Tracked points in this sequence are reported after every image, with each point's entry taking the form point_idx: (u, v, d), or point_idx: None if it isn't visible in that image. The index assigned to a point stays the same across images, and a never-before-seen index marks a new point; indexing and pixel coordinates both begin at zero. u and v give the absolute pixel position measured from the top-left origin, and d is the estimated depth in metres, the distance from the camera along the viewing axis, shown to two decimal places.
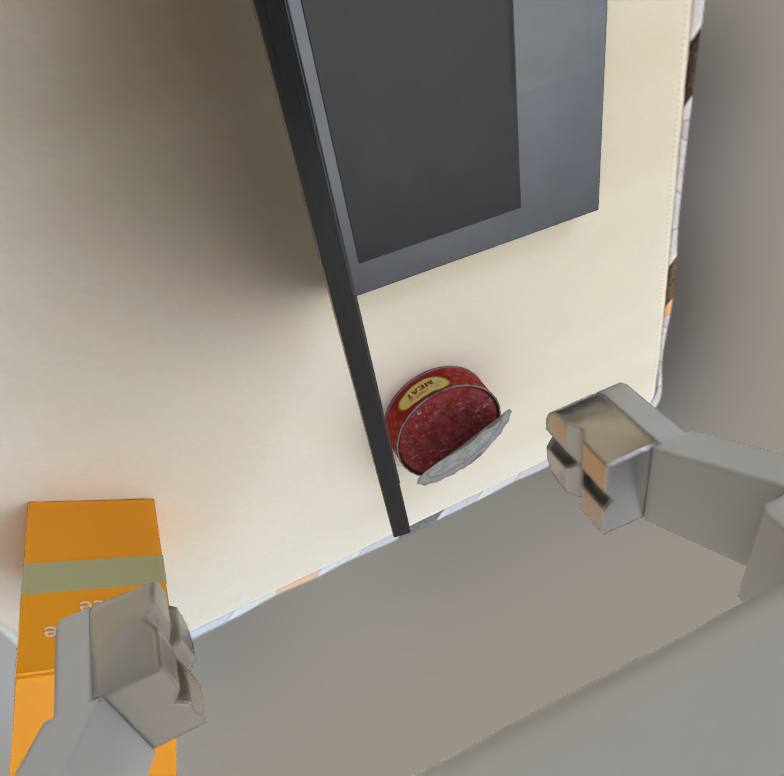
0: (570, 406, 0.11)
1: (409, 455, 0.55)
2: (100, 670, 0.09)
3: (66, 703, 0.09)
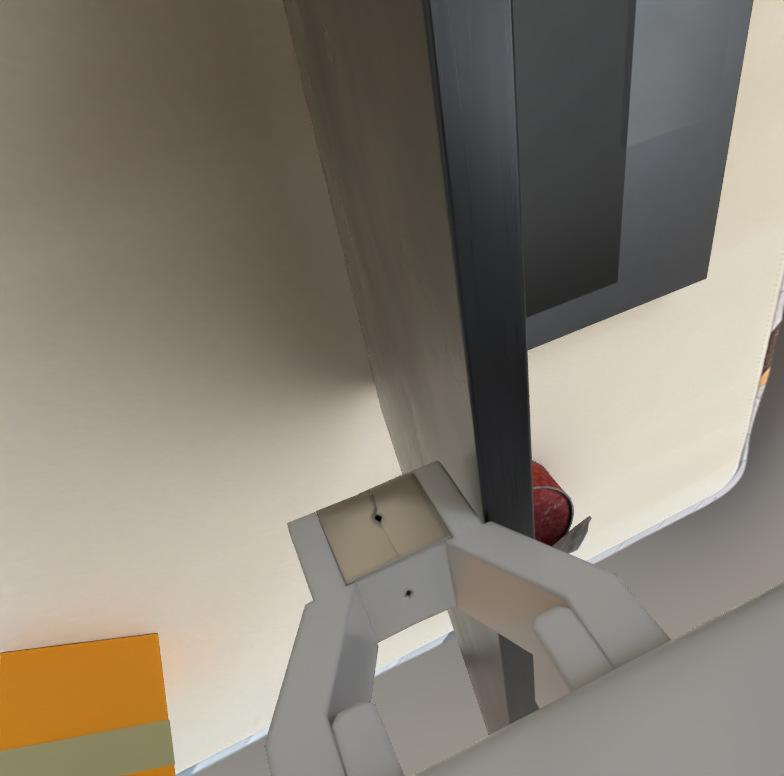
0: (379, 487, 0.11)
1: None
2: (346, 561, 0.10)
3: (322, 588, 0.09)
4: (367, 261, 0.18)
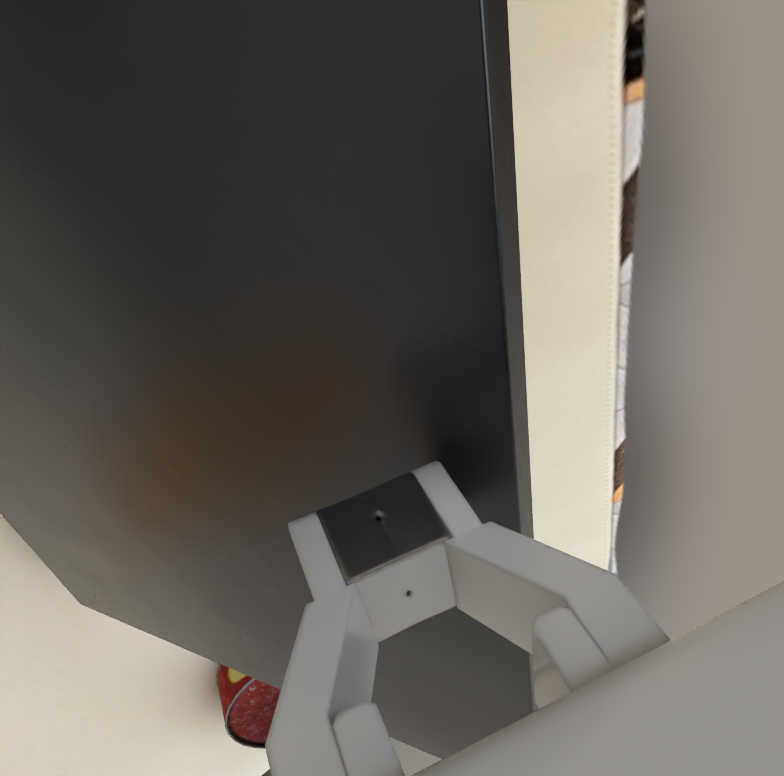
0: (378, 487, 0.11)
1: (250, 730, 0.40)
2: (346, 561, 0.10)
3: (322, 588, 0.09)
4: (101, 397, 0.15)
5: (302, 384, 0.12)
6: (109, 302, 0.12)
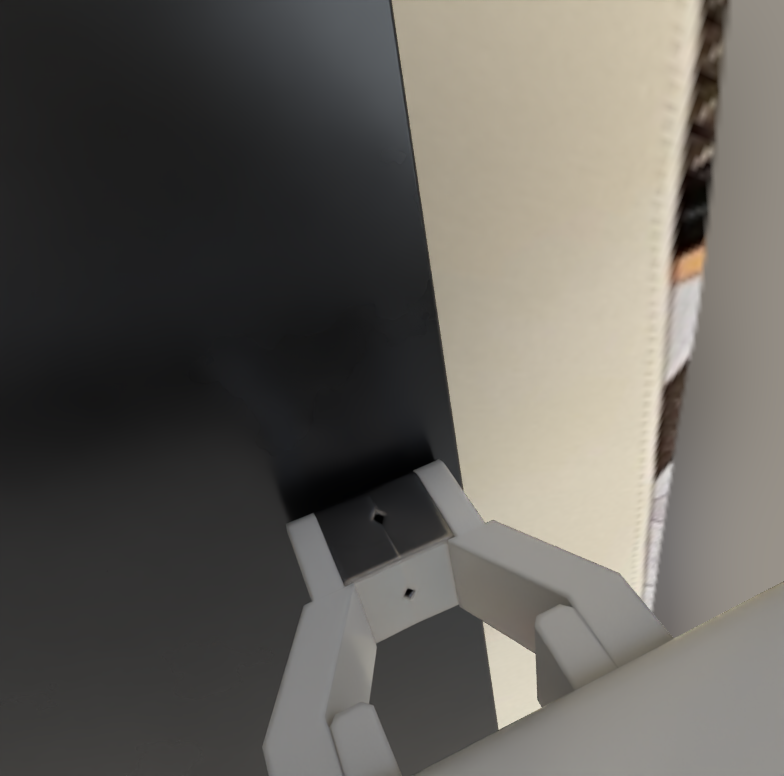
0: (381, 486, 0.11)
1: None
2: (344, 562, 0.10)
3: (320, 589, 0.09)
4: None
5: (219, 475, 0.10)
6: None
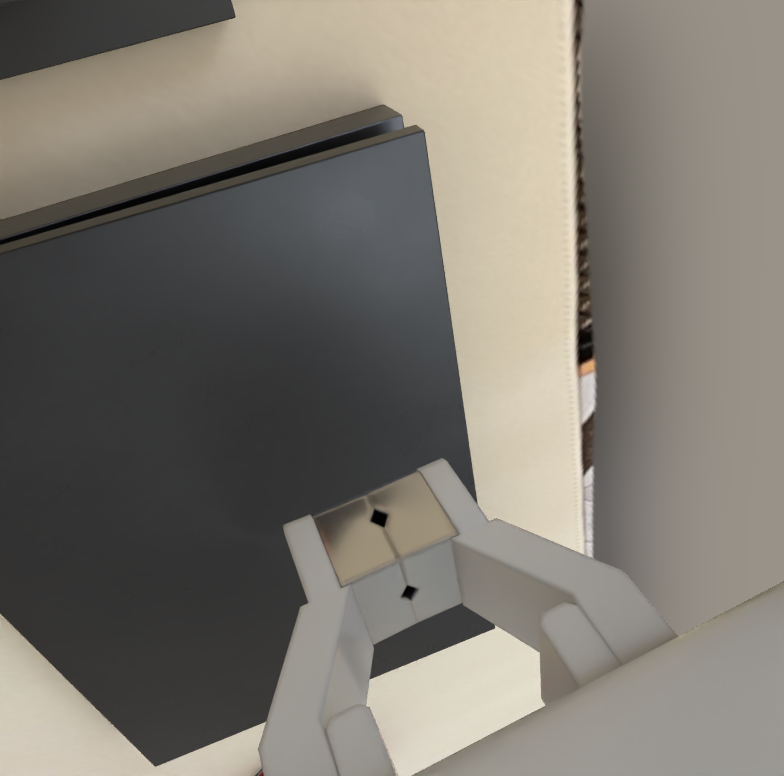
0: (385, 485, 0.11)
1: None
2: (341, 563, 0.10)
3: (317, 590, 0.09)
4: (263, 533, 0.29)
5: (387, 460, 0.29)
6: (291, 471, 0.27)
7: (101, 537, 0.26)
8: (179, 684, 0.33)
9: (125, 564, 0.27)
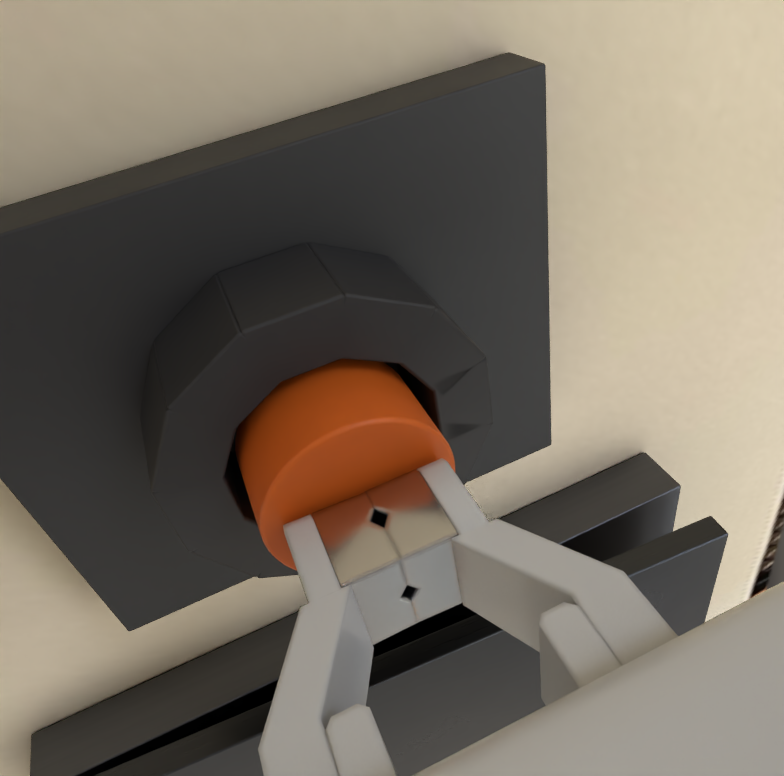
0: (384, 485, 0.11)
1: None
2: (341, 563, 0.10)
3: (316, 590, 0.09)
4: None
5: None
6: None
7: None
8: None
9: None
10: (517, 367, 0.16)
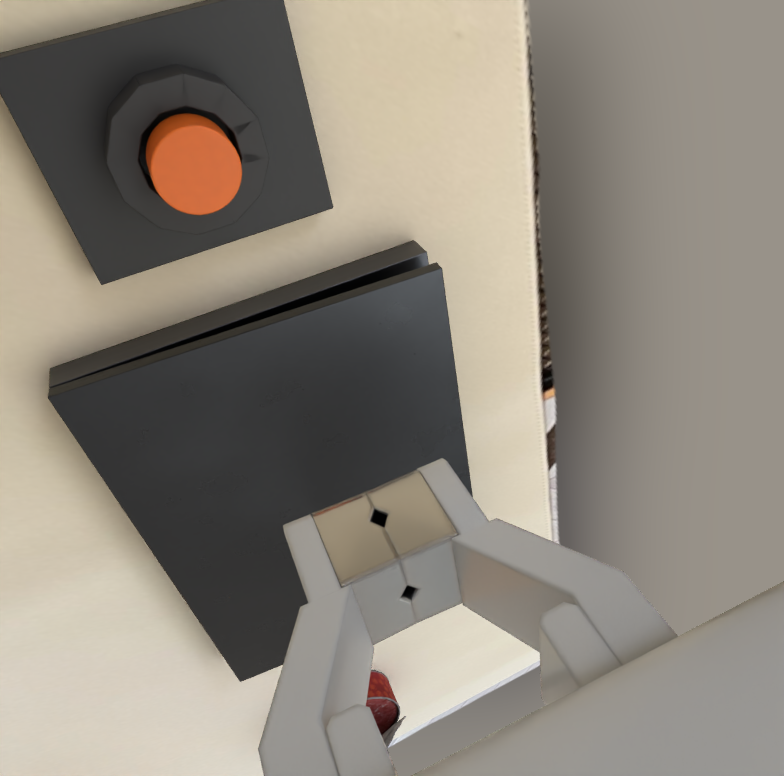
0: (384, 485, 0.11)
1: None
2: (341, 563, 0.10)
3: (317, 590, 0.09)
4: None
5: (412, 461, 0.43)
6: (350, 470, 0.41)
7: (229, 513, 0.40)
8: (264, 618, 0.47)
9: (241, 532, 0.41)
10: (300, 151, 0.31)
